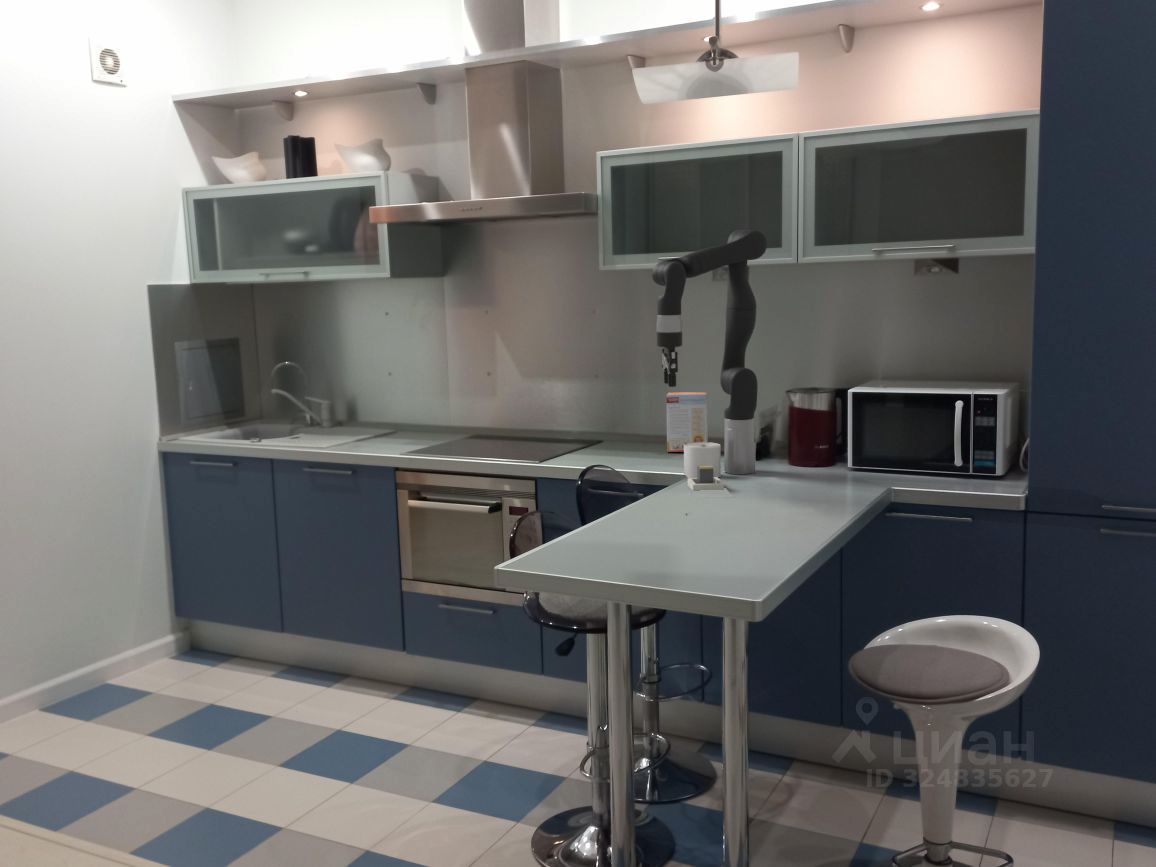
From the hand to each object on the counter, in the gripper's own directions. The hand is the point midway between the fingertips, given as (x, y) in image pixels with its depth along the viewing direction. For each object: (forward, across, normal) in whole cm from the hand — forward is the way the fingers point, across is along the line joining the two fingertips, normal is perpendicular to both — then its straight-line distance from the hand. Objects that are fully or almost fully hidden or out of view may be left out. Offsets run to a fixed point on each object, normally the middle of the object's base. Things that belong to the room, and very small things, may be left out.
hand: (669, 385), depth 306 cm
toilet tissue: (+30, +9, -11) cm, 34 cm away
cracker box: (+30, +51, -14) cm, 61 cm away
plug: (+29, -11, -8) cm, 32 cm away
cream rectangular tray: (+30, -15, -9) cm, 35 cm away
